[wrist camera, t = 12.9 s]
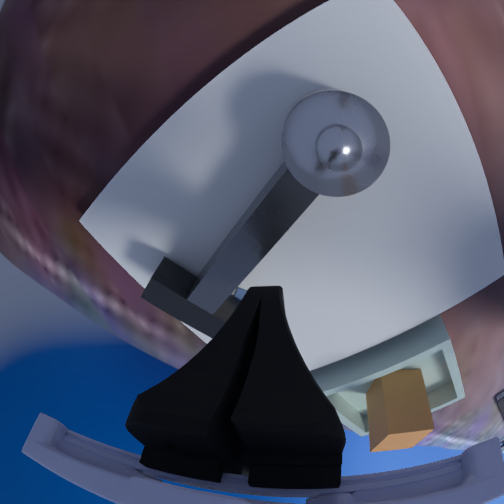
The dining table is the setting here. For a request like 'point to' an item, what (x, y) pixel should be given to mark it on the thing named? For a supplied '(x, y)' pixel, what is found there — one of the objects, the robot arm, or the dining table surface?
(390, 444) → the block
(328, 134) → the crank
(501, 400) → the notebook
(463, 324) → the dining table surface
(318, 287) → the crank plate
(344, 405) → the parts tray
